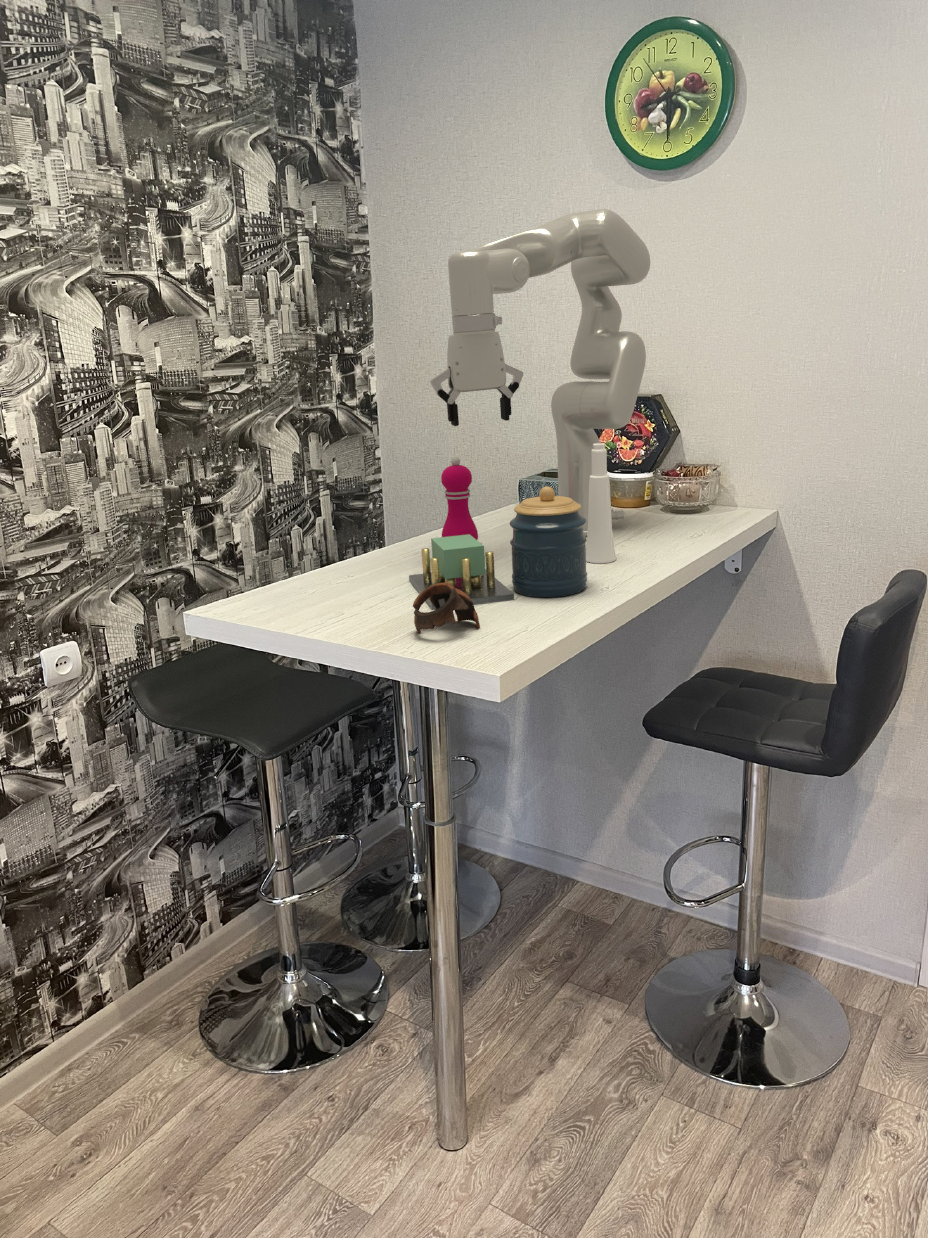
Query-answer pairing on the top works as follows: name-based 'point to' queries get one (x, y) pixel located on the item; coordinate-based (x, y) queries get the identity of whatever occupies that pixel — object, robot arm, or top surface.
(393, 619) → the top surface
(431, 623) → the brown curved shards
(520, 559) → the canister
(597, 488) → the cosmetic bottle
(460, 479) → the pepper mill
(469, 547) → the green boxy piece
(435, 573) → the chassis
